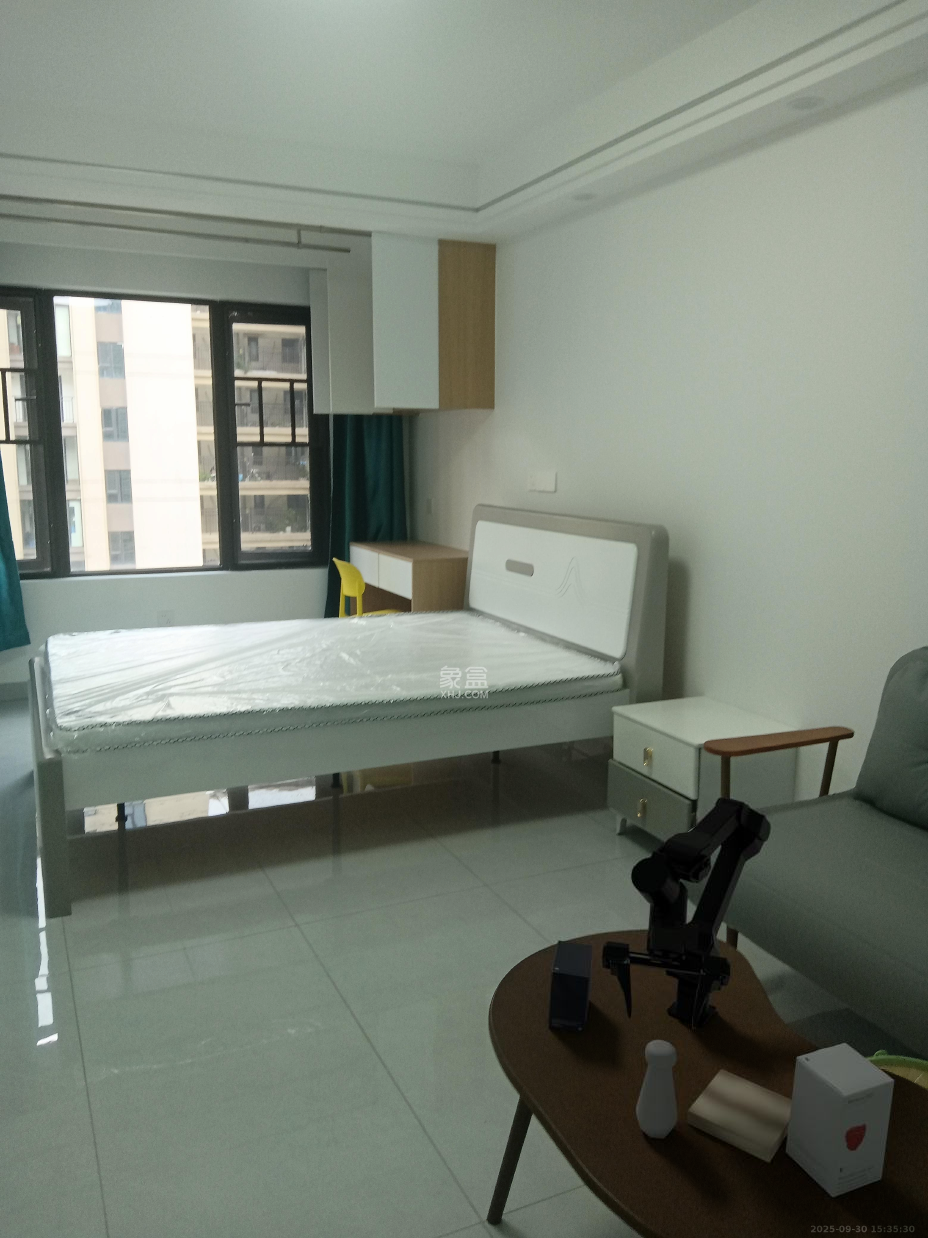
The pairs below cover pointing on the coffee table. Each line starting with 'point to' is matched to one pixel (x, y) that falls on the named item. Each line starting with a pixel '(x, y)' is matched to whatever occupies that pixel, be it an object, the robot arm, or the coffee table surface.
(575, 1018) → the small box
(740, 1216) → the coffee table surface
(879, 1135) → the supplement box
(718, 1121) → the oak block
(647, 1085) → the salt shaker
